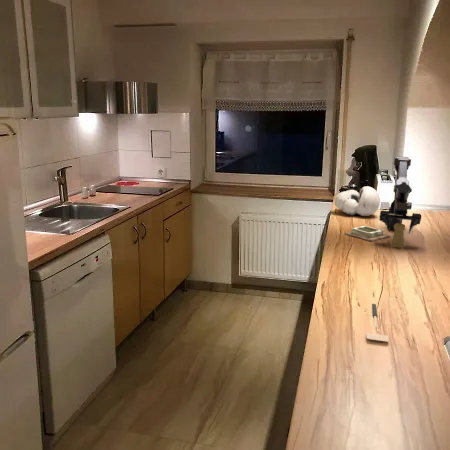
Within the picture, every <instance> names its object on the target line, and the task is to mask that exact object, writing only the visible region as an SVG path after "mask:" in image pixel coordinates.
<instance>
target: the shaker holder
mask: <svg viewBox="0 0 450 450" xmlns="http://www.w3.org/2000/svg"><path fill="white" fill-rule="evenodd" d="M344 235H346V236H349V237H352V238H356V239H360V240H364V241H368V242H375V241H379V240H383V239H387V238H390V235H388V234H385V233H384V229H381V228H380V229H379V228H375V227H372V226H368V225H362V226H357V227H353V228H351V229H350V231H347V232H344Z"/></svg>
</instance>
